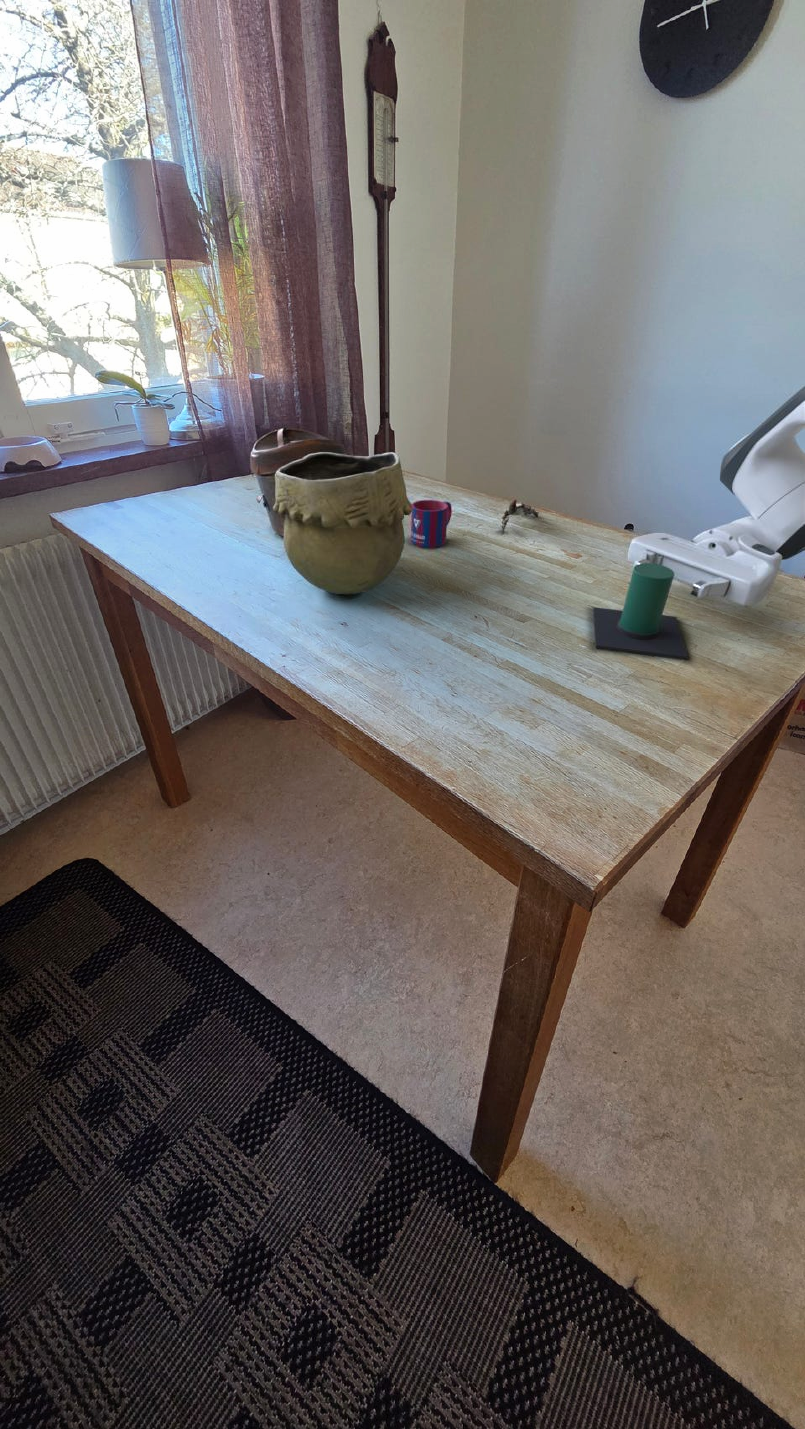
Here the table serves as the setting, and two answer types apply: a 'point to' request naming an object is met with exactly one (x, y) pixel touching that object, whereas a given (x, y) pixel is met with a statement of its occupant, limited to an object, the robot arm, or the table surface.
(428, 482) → the table surface
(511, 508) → the figurine
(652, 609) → the thermos cap
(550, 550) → the table surface
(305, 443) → the brown planter
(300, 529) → the clay pot
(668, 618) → the mat
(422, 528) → the mug
